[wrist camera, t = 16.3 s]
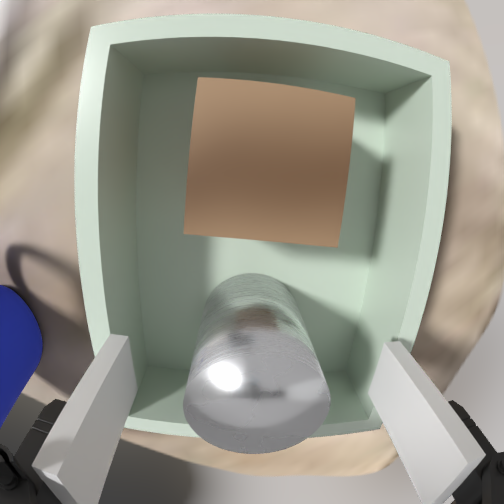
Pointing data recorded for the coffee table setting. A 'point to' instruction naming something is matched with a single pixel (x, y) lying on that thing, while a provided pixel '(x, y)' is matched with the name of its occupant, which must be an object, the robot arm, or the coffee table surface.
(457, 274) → the coffee table surface
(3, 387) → the mug
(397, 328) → the tote
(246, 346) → the canister
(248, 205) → the walnut block
